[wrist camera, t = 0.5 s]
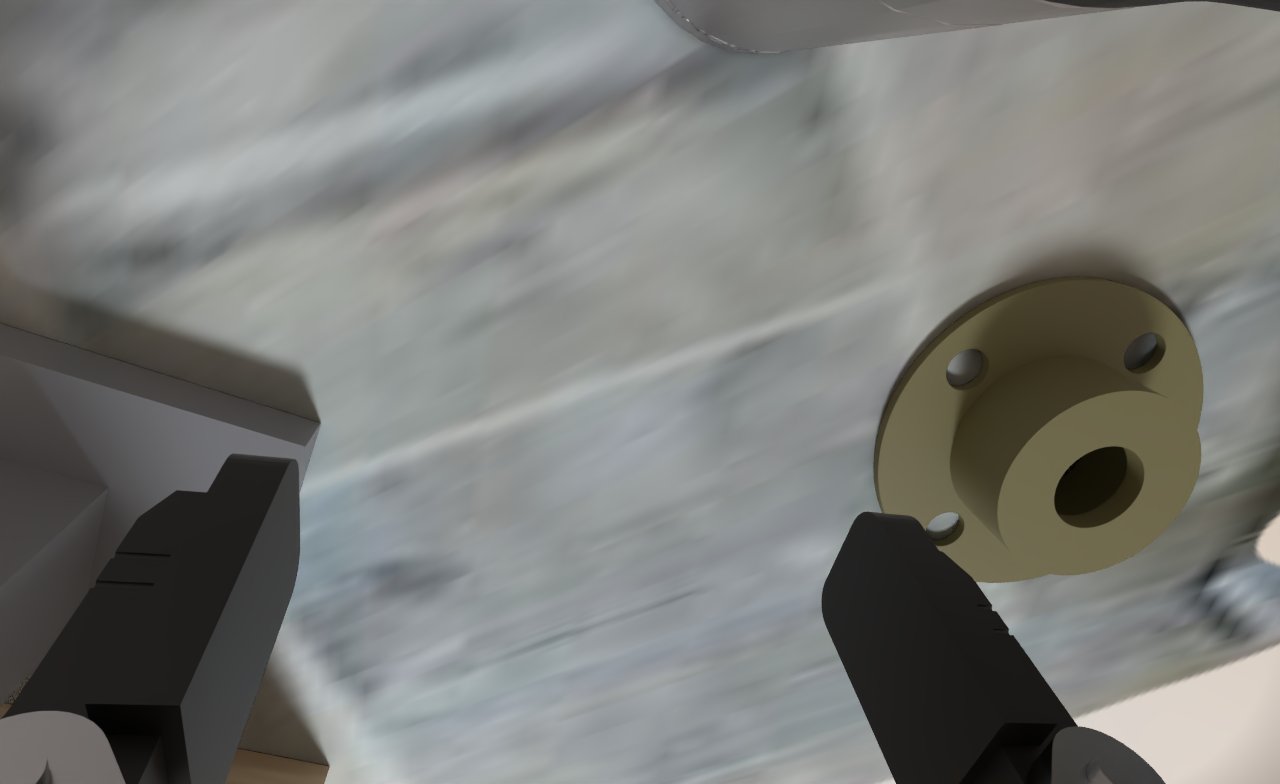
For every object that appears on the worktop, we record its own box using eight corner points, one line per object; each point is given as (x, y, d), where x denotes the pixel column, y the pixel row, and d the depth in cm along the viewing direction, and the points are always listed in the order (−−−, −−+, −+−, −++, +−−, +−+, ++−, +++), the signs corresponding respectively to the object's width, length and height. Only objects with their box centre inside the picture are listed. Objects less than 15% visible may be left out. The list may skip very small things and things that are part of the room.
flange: (1052, 688, 33) (1341, 461, 30) (841, 516, 28) (1162, 219, 25) (994, 618, 37) (1242, 413, 34) (802, 458, 32) (1071, 198, 29)
